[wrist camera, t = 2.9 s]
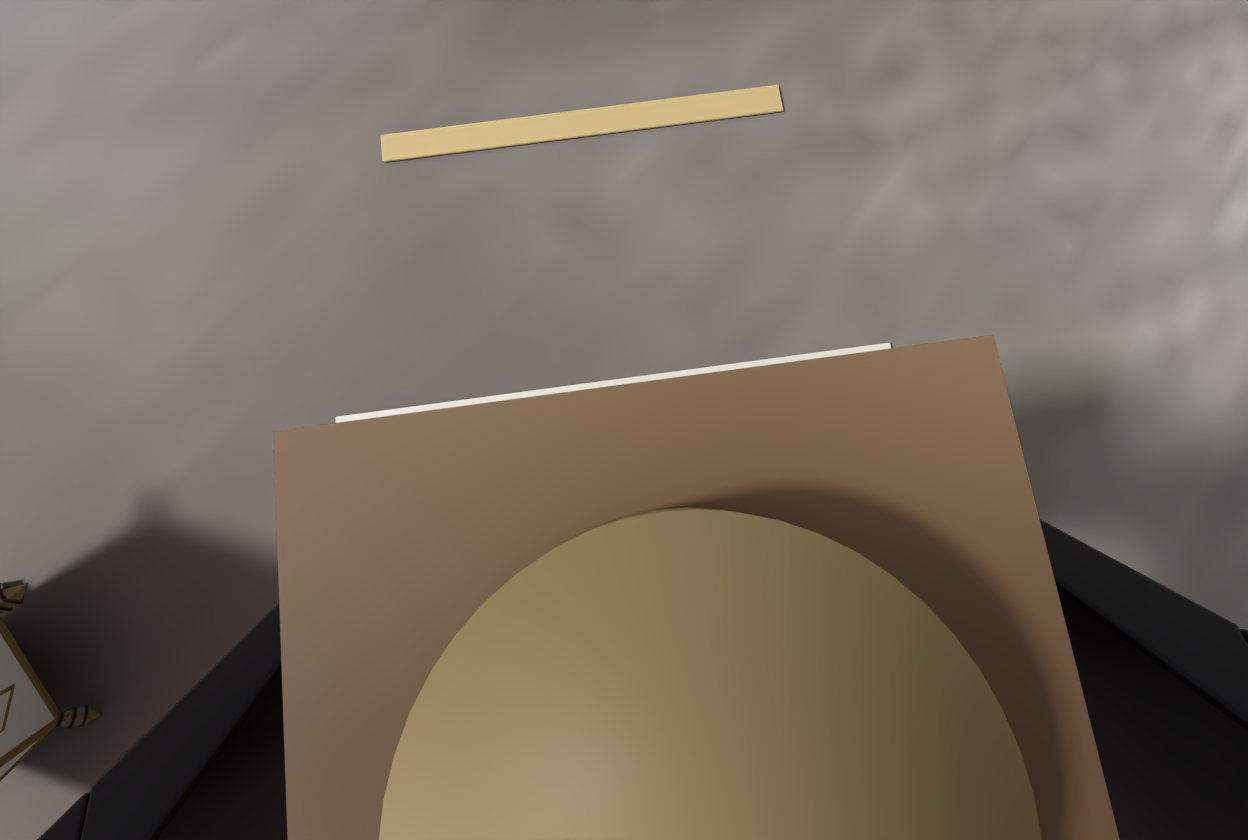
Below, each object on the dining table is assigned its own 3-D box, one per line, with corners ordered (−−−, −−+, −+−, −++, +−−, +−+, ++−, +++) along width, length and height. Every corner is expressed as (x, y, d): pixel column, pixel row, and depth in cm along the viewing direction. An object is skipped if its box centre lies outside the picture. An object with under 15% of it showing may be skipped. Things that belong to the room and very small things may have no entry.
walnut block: (725, 613, 15) (1383, 1409, 2) (574, 635, 15) (209, 1597, 2) (701, 462, 16) (1073, 299, 3) (556, 482, 16) (193, 416, 3)
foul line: (889, 343, 17) (890, 342, 17) (899, 391, 16) (900, 390, 16) (336, 417, 16) (335, 416, 16) (339, 466, 16) (338, 466, 16)
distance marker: (777, 86, 18) (778, 84, 18) (782, 111, 18) (783, 110, 18) (381, 136, 18) (380, 134, 18) (383, 162, 18) (382, 161, 18)
